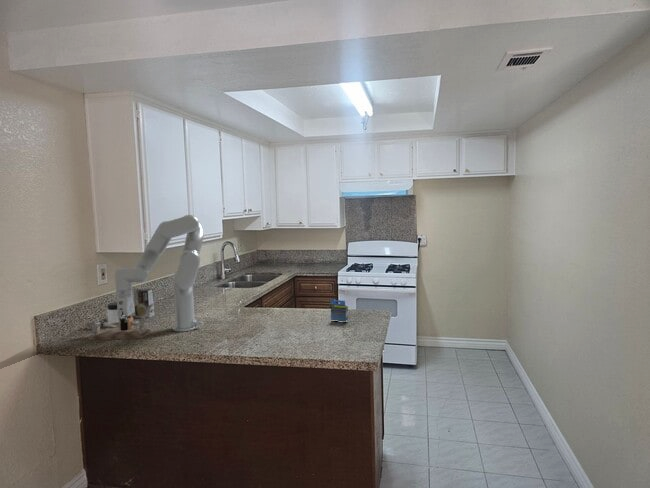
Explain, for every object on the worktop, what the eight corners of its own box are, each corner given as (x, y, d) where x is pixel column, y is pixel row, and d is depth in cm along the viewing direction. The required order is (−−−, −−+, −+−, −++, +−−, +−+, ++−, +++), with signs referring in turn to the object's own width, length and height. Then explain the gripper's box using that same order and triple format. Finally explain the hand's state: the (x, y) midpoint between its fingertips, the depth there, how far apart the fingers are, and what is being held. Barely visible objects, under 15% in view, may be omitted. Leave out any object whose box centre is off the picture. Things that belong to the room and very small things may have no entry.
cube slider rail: (149, 331, 217) (148, 315, 216) (142, 337, 207) (141, 321, 206) (94, 333, 215) (93, 317, 215) (84, 340, 205) (83, 323, 205)
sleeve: (133, 327, 214) (133, 317, 213) (129, 329, 209) (129, 320, 208) (123, 327, 213) (123, 317, 213) (119, 330, 208) (118, 320, 208)
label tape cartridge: (348, 321, 229) (348, 299, 228) (345, 323, 226) (345, 300, 225) (333, 320, 233) (333, 298, 232) (330, 321, 229) (330, 299, 228)
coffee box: (155, 315, 252) (153, 288, 250) (149, 318, 245) (148, 290, 244) (140, 315, 253) (139, 288, 251) (134, 317, 246) (133, 290, 245)
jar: (105, 325, 230) (103, 304, 229) (118, 322, 237) (117, 301, 236) (115, 327, 226) (114, 306, 225) (129, 324, 233) (127, 302, 232)
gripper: (125, 296, 201) (127, 333, 203) (138, 289, 218) (140, 323, 220) (109, 296, 201) (111, 334, 202) (123, 289, 218) (125, 324, 219)
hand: (126, 328), depth 211 cm, fingers closed on sleeve, 5 cm apart
